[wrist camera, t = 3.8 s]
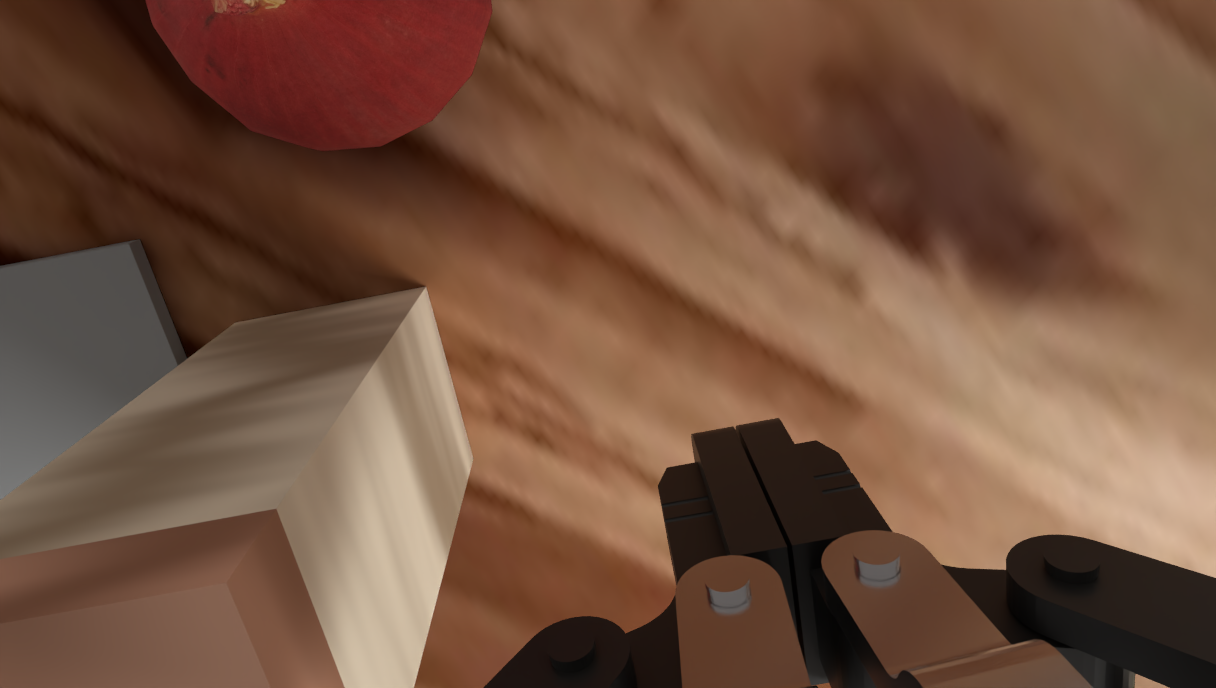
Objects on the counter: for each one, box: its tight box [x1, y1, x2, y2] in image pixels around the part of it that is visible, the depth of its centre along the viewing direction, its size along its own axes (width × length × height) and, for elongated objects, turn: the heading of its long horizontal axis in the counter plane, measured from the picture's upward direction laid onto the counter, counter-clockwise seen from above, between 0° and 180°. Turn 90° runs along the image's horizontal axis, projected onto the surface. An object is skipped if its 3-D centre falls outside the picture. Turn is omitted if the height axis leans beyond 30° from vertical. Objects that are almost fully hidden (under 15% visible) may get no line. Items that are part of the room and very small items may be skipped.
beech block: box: [0, 287, 473, 688], centre depth 15 cm, size 5×5×12 cm
